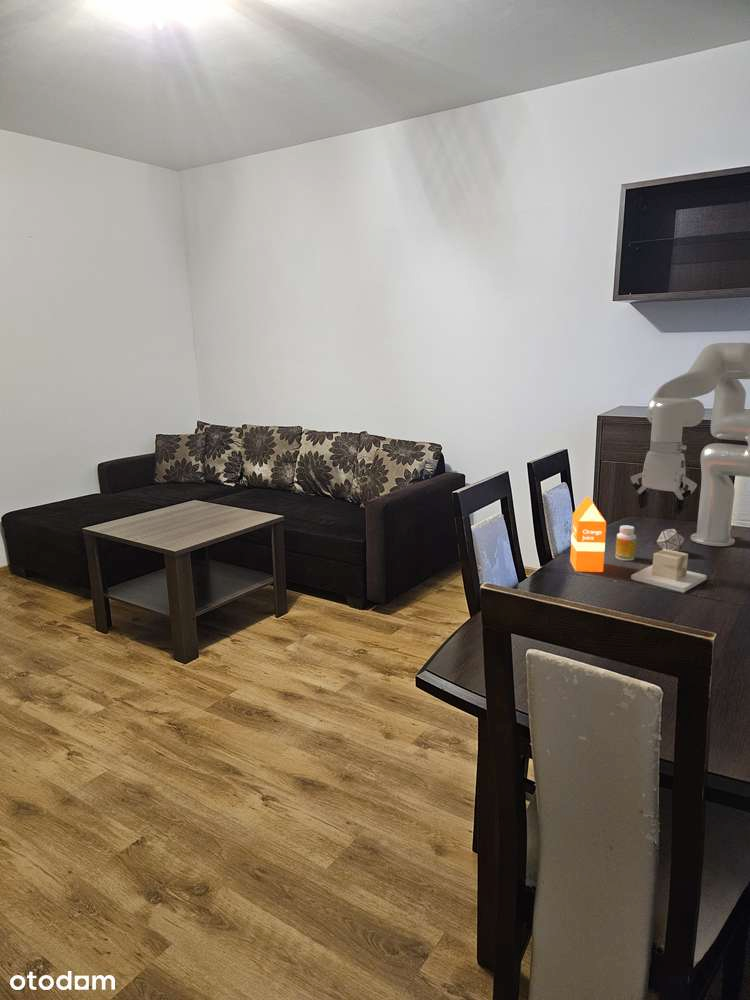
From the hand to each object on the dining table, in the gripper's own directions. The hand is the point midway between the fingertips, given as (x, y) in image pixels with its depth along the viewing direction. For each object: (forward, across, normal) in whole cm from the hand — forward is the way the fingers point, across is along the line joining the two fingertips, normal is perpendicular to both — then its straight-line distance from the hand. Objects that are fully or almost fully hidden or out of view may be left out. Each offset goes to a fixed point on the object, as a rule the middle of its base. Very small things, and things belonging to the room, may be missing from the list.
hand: (660, 510), depth 174 cm
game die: (+18, +4, -20) cm, 28 cm away
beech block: (+17, -5, +3) cm, 18 cm away
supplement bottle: (+18, +12, -6) cm, 23 cm away
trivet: (+18, -5, +3) cm, 19 cm away
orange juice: (+18, +16, +8) cm, 26 cm away
